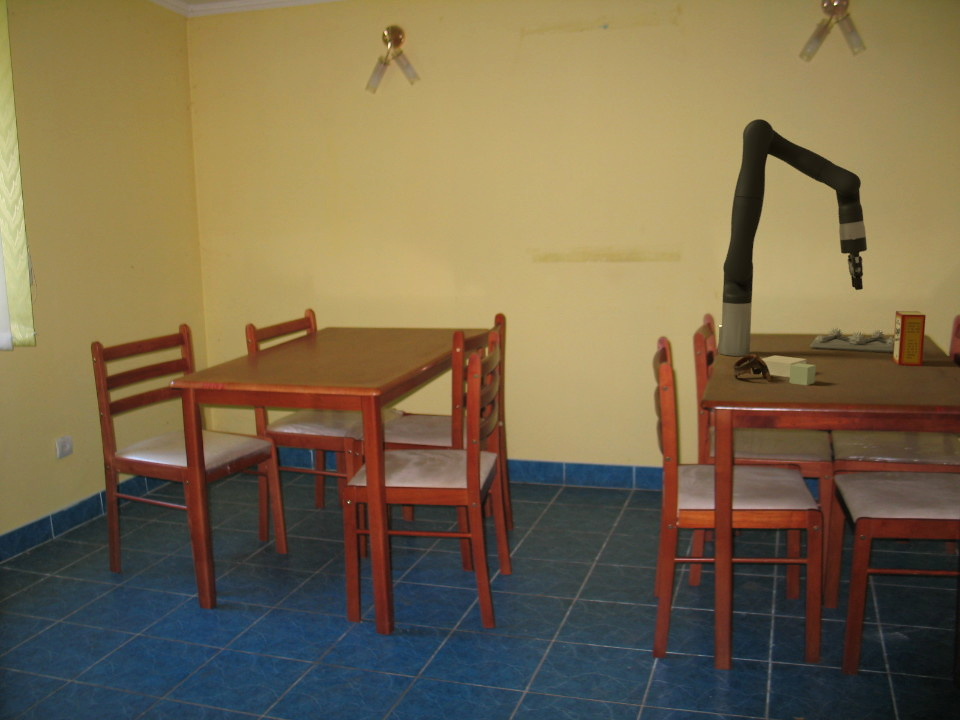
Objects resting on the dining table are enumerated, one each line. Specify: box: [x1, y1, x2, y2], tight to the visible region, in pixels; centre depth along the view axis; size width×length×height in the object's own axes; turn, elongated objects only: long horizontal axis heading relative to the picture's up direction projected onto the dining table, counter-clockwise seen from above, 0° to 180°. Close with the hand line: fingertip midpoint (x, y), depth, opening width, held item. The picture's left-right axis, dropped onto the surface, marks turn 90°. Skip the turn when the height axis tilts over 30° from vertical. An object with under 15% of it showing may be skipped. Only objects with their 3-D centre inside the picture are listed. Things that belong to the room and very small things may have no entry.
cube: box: [789, 363, 817, 386], centre depth 249 cm, size 5×5×5 cm
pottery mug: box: [732, 353, 772, 383], centre depth 255 cm, size 12×9×8 cm
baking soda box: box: [892, 310, 927, 367], centre depth 275 cm, size 10×6×16 cm
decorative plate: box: [809, 326, 894, 354], centre depth 308 cm, size 30×22×7 cm
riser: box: [761, 355, 807, 378], centre depth 263 cm, size 10×10×4 cm
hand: (857, 288), depth 282 cm, fingers open, 8 cm apart
